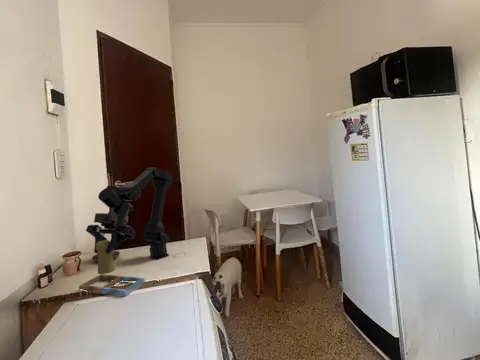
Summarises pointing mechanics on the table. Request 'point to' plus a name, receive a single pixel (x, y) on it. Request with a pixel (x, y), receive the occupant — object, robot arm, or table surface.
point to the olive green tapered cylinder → (104, 258)
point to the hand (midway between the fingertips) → (101, 253)
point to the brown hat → (114, 253)
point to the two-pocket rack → (107, 287)
